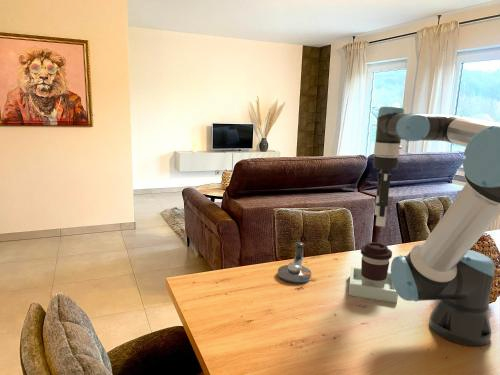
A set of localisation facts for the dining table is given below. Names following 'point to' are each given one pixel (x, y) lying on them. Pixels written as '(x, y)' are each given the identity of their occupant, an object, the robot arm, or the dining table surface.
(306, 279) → the grey round base
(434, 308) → the robot arm
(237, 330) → the dining table surface
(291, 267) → the crank
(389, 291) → the tray
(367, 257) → the coffee cup
